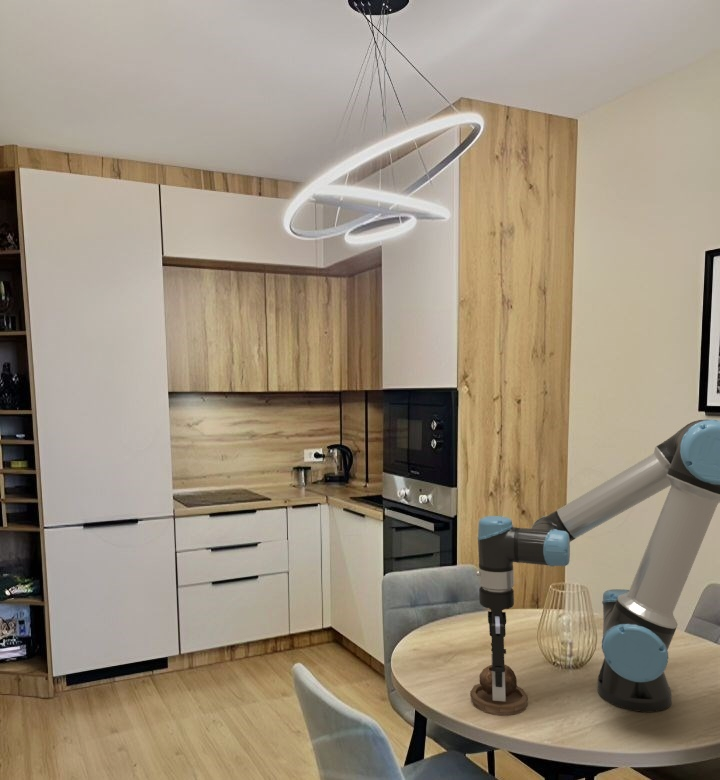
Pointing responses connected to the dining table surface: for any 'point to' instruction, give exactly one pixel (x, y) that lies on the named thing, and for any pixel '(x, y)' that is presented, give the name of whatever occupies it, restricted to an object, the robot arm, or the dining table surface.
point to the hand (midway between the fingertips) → (498, 691)
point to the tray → (499, 702)
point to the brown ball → (509, 681)
